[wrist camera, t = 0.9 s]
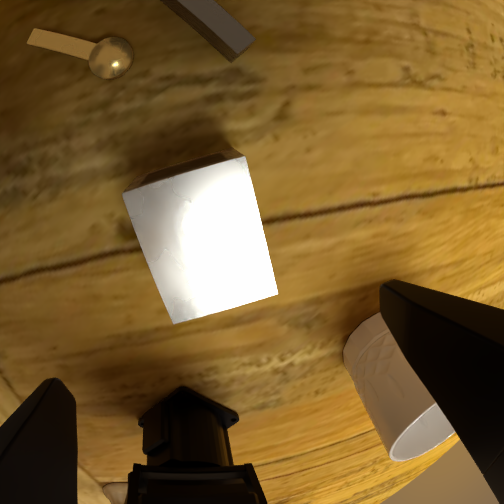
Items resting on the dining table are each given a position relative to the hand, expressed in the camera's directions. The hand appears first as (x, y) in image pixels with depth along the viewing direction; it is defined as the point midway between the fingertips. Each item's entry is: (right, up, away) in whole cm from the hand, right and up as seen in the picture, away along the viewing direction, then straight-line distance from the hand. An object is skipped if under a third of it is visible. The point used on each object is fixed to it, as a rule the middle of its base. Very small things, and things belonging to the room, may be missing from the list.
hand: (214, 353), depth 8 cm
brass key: (-9, +14, +5) cm, 18 cm away
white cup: (+11, -5, +18) cm, 22 cm away
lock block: (-2, +4, +11) cm, 12 cm away
